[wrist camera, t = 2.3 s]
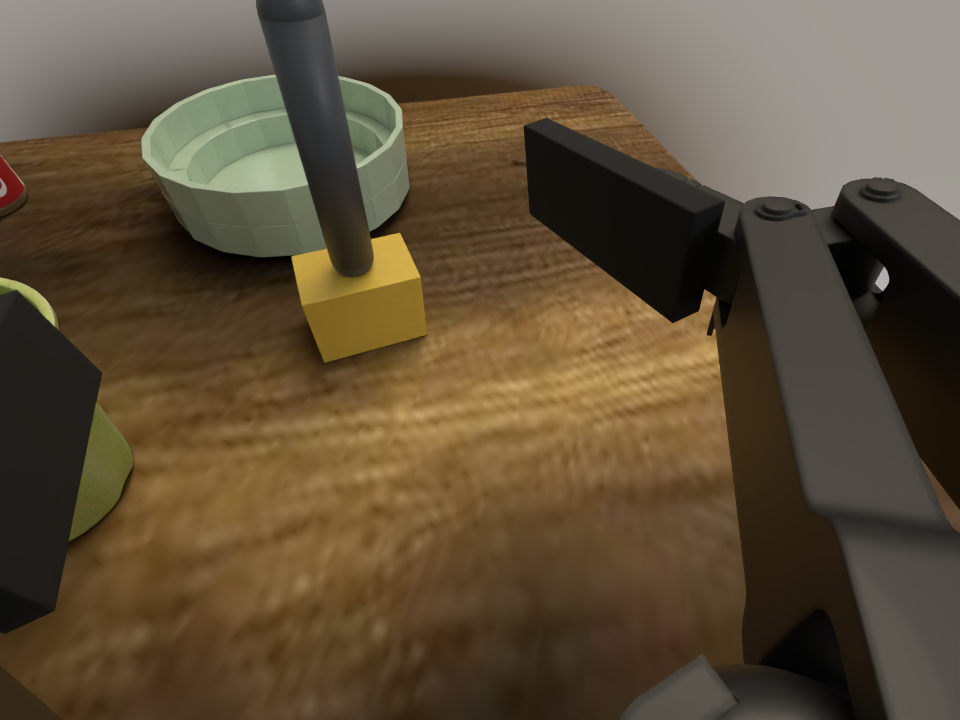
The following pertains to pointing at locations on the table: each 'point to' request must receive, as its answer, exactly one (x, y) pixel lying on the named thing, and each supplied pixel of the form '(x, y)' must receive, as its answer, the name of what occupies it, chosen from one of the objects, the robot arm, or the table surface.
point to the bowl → (267, 165)
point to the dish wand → (337, 199)
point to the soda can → (10, 189)
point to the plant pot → (90, 445)
